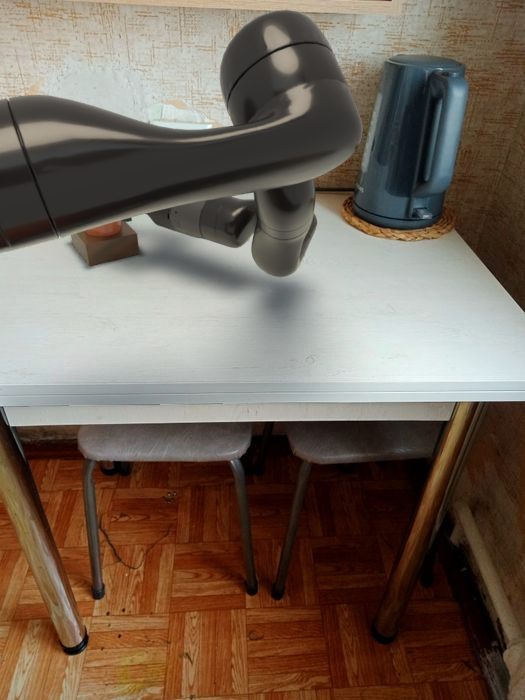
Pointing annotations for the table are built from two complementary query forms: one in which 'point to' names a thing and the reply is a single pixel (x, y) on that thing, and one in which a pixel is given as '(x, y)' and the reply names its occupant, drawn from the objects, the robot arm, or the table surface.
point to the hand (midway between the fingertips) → (105, 183)
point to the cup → (105, 229)
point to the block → (106, 245)
